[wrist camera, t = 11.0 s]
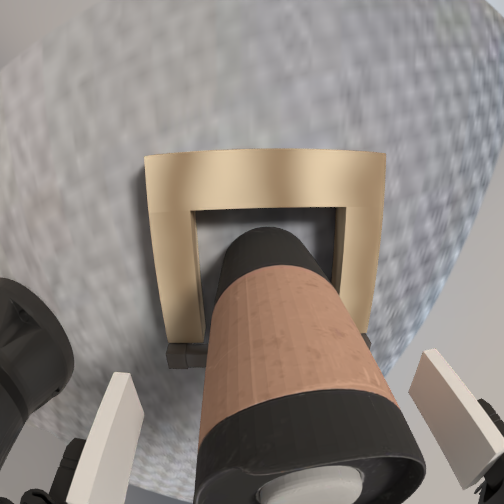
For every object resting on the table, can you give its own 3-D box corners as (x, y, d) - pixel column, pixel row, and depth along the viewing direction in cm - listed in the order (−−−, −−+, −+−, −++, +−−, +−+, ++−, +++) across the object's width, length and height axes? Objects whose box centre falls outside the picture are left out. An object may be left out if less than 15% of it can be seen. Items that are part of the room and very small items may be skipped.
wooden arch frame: (176, 342, 28) (169, 368, 24) (153, 154, 22) (138, 157, 19) (354, 333, 28) (368, 357, 25) (372, 151, 23) (394, 154, 19)
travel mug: (314, 302, 27) (399, 518, 8) (227, 313, 27) (217, 547, 8) (310, 217, 24) (465, 415, 6) (212, 228, 24) (151, 470, 6)
